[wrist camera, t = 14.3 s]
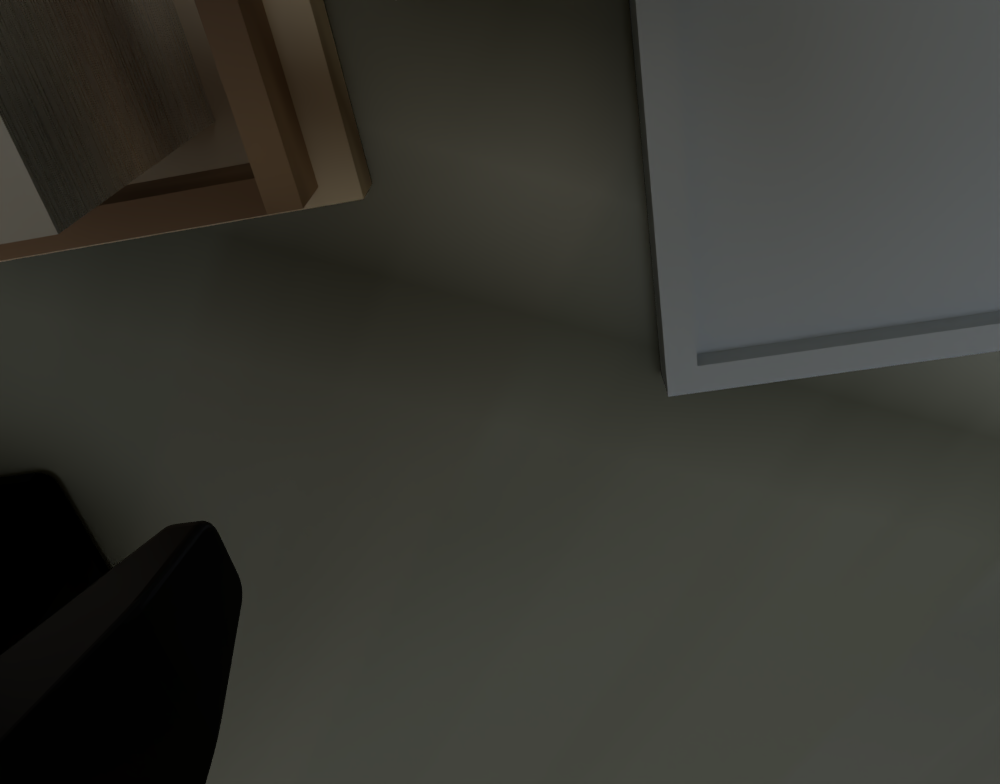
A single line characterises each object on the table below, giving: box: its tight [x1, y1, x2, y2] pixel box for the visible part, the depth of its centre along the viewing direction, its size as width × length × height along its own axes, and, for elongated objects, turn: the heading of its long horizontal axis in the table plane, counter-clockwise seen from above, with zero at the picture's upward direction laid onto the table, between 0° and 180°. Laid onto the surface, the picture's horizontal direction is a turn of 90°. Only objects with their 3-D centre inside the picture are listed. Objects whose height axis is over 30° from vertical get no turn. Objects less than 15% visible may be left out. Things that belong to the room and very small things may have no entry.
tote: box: [629, 0, 1000, 397], centre depth 18 cm, size 11×11×1 cm
